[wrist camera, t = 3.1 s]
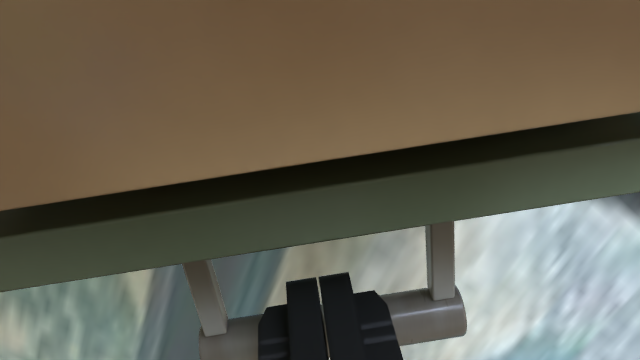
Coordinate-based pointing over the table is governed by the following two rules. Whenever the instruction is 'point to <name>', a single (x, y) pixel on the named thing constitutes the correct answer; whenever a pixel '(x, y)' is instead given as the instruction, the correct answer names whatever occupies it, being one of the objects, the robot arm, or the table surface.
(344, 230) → the drawer
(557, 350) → the table surface
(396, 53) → the cabinet
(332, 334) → the robot arm
